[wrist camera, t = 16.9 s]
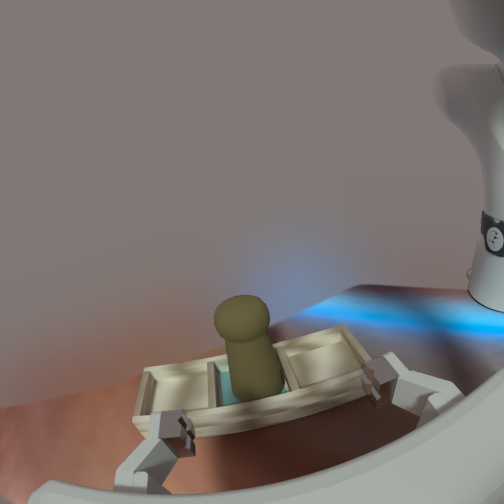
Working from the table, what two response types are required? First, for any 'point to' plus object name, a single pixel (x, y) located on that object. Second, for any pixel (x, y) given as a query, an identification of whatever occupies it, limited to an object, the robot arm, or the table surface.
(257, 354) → the cork
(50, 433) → the table surface
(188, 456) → the robot arm
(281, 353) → the divided tray
